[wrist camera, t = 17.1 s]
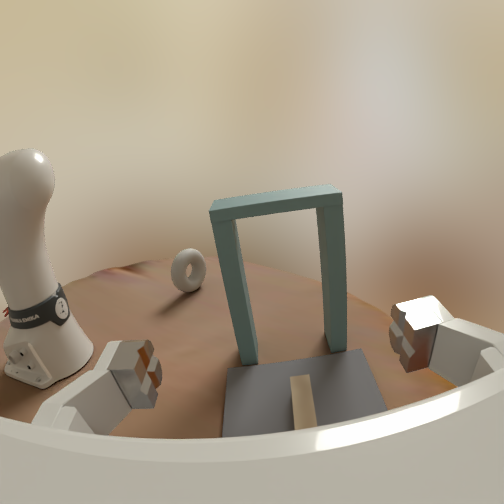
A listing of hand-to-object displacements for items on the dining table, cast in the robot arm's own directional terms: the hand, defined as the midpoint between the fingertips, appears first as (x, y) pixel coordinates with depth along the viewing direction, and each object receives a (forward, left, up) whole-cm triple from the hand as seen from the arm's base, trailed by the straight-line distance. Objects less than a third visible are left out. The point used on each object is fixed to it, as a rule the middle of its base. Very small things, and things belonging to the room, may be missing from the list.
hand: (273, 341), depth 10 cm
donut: (-18, +56, -26) cm, 65 cm away
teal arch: (+2, +31, -26) cm, 41 cm away
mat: (+2, +15, -26) cm, 30 cm away
